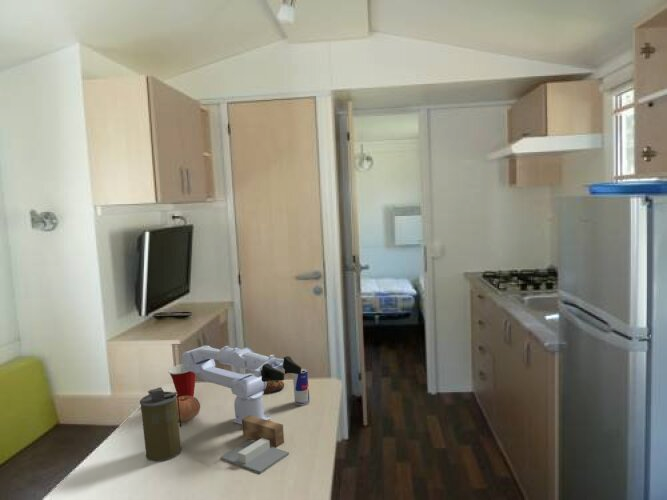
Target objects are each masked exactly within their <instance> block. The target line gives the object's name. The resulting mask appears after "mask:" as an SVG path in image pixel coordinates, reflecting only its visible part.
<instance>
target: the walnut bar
mask: <svg viewBox="0 0 667 500" xmlns="http://www.w3.org/2000/svg"><path fill="white" fill-rule="evenodd" d="M241 428H242V438H244V439H247V440H252V441H255V442H256V441H258V440H259V439H261V438H264V439H267V440H269V442H270V446H271V447H274V448H277V449H278V447H280V446H281V445H283V444H284V443H285V438H284V437H285V435H284V433H285V432H284V424H281V423H279V422H275V421H271V420H265V419H261V418H258V417H254V416H251V415H249V416H247V417H246V418H244V419H242V426H241Z"/></svg>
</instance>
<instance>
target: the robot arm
mask: <svg viewBox="0 0 667 500" xmlns="http://www.w3.org/2000/svg"><path fill="white" fill-rule="evenodd" d="M215 360H217V361H218V362H219V363H220V364H221V365H222V364H223V365H225V366H226V365H228V366H231V367H233V368H235V370H237V371H239V370H240V369H241V370H242V369H246V370H249V371H252V372H253V373H238V372H234V371H232V370H231V371H230V370H227V369H223V368H220V367H219V368H218V367H216V362H215ZM181 364H183V365H184V367H185V369H186V370H187V371H190V372H193V373H195V376H197V377H198V378H199V379H201V380H202V381H205V382H208V383H211V384H214V385H218V386H220V387H221V386H222V387H226V388H228V389H230V390H231V393H232V394H233V395H234V396H236V397H235V399H234V404H233V405H234V416H235V419H234V420H233V423H235V424H238V425H242V419H244V418H246V417H247V416H249V415H251V416H254V417H258V418H261V419H265V420H268V421H270V417H269V416H265V412H264V400H263V395H264V394H265V393H264V390H265V388H266V385H267V383H266V381H272V380H278V381H285V375H287V374H293V373H294V374H301V368H302V367H301V366H300V365H298V364H297V363H296V362H294V360H293V359H292V358H291V356H287V355H286V356H283V358H277V357H275V354H270V355H268V356H266V355H264V354H260V353H256V352H254V351H253V350H252V349H251V348H250V347H247V346H245V347H244V348H239V347H234V348H233V347H230V346H229V345H226V346H223V347H222V348H220V349H219V348H215V347H211V346H210V345H202V346H199V347H197V348H193V349H191V350H188V351H183V353H182V354H181ZM283 369H284V372H283V371H282V370H283Z"/></svg>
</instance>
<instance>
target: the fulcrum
mask: <svg viewBox="0 0 667 500" xmlns="http://www.w3.org/2000/svg"><path fill="white" fill-rule="evenodd" d="M289 455H290V453H289V451H286V450H283V449H279V448H278V447H277V448H275V447H272V446H270V442H269V440H267V439H264V438H261V439H259V440H258V441H254V440H250V439H247V440H246V441H245V442H243V443H241V444H240V445H239V446H236V447H235V448H233V449H231V450H230V451H228V452H226V453H225V454H223V455H221V456H220V457H219V458H220V460H223V461H225V462H227V463H231V464H233V465H235V466H239V467H241V468H243V469H248V470H250V471H252V472H255V473H258V474H263V472H265V471H267V470H268V469H270V468H271V467H272V466H274V465H275V464H277V463H279V462H280V461H281V460H283V459H284V458H286V457H287V456H289Z"/></svg>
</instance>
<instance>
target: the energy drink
mask: <svg viewBox="0 0 667 500" xmlns="http://www.w3.org/2000/svg"><path fill="white" fill-rule="evenodd" d="M292 379H293V380H292V381H293V394H294V403H295V404H296V405H297V406H307V405H308V404H309V403H310V401H311V399H310V386H309V373H308V369H306V368H303V367H301V374H294V373H292Z"/></svg>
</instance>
